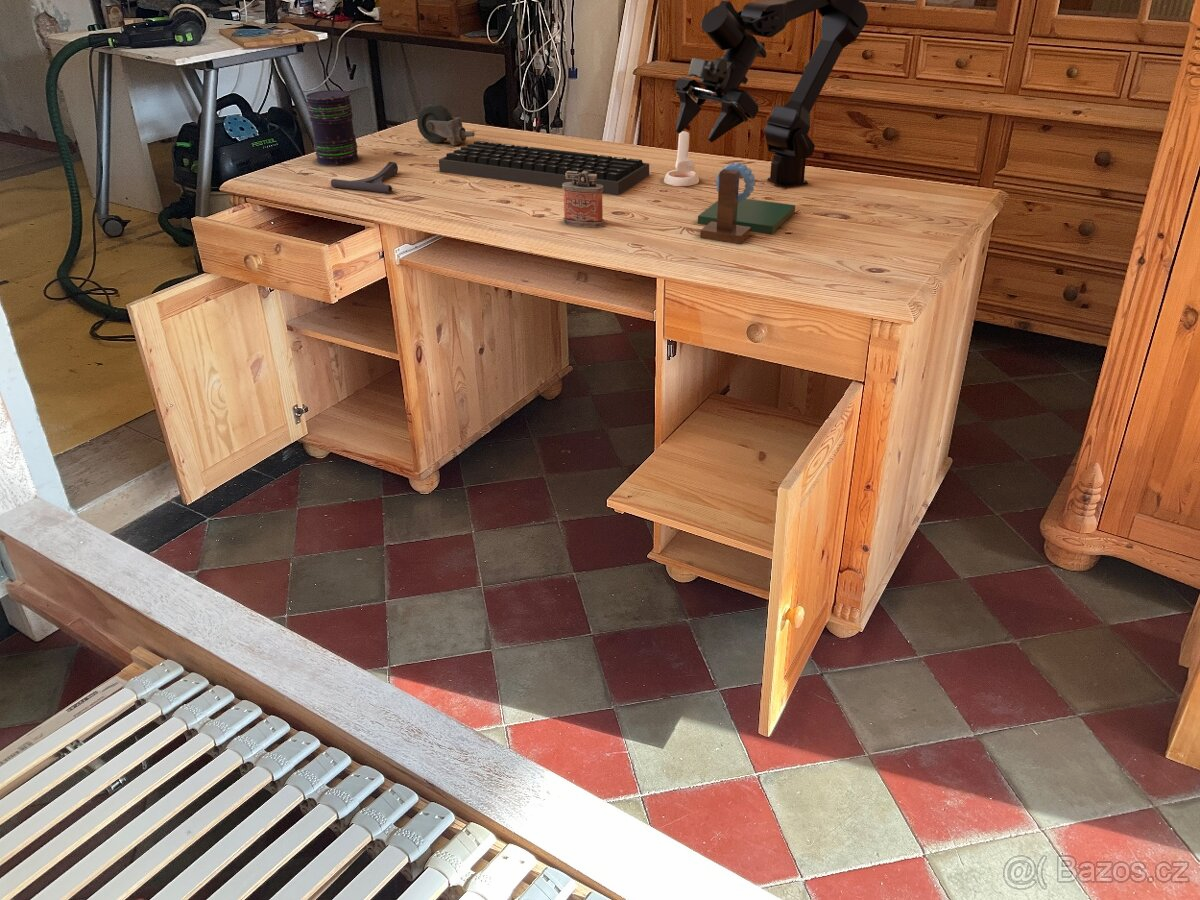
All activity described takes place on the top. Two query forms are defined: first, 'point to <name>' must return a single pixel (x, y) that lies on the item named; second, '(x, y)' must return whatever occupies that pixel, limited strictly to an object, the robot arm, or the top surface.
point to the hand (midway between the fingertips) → (693, 136)
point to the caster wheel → (441, 125)
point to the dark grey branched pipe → (370, 181)
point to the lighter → (582, 200)
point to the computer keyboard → (542, 165)
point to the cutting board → (754, 215)
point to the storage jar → (332, 127)
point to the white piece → (682, 165)
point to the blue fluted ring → (745, 174)
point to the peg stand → (727, 211)
